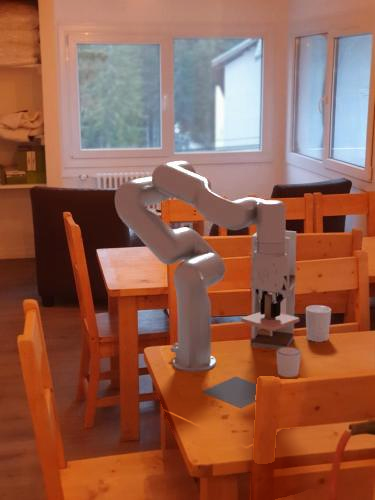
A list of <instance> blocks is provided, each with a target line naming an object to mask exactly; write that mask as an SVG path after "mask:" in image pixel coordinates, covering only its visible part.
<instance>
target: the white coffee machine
mask: <svg viewBox="0 0 375 500" xmlns="http://www.w3.org/2000/svg"><path fill="white" fill-rule="evenodd" d="M255 241H257V231H256V232H255V233H253V235H251V261H250V262H251V267H252V260H253V255H254V252H255V251H257V246H256V245H255ZM285 254H287V258H288V265H289V289H290V292H291V295H290V296H288V297H285V298H284V299H283V301H282V302H281V311H280V313H283V314H287V315H290V316H294V317H295V302H296V301H295V299H296V295H295V293H296V266H297V265H296V261H297V258H296V257H297V231H293V230H286V237H285ZM250 292H251V315H252V314H255V313H258V312H260V300H259V298H258V294H257V293H256V290H254V289H253V288H252V287H251V286H250ZM269 293H270V292H269ZM282 293H283V290H282ZM277 296H278V294H277ZM294 330H295V323H294V324H291V325H288V326H286V327H283V328H280V329H277V330H274V331H269V330H266V329H263V328H260V327H257V326H253V325H251V337H250V347H256V348H257V347H258V348H265V349H274V350H277V349H278V348H281V347H290V346H291V344H292V342H293V340H294V338H295V337H294V335H295V334H294V333H295V331H294Z"/></svg>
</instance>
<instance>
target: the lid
mask: <svg viewBox="0 0 375 500" xmlns="http://www.w3.org/2000/svg"><path fill="white" fill-rule="evenodd" d="M271 303H273V299H272V293H266V294H265V314H263V315H262V314H260V312H258V313H255V314H252V313H251V314H249V315H247V316H244V317H243V316H242V317H241V318H240V322H241V323H244V324H247V325H250V326H252V325H253V326H257V327H260V328H263V329H266V330H269V331H274V330H277V329H280V328H283V327H286V326H288V325H291V324H294V325H295V324H296V323H299V322H300V317H297V316H295V315H294V316H290V315H287V314H283V313H280V316H277V317H274V318H272V317H271Z"/></svg>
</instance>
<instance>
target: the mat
mask: <svg viewBox="0 0 375 500" xmlns="http://www.w3.org/2000/svg"><path fill="white" fill-rule="evenodd" d="M256 384H257V383H255V382H253V381H250V380H247V379H244V378H242V377H239V376H233V377H231V378H229V379H226V380H223V381H222V382H219V383H217V384H215V385H212V386H210V387H208V388H206V389H204V390H200V393H202V394H204V395H208V396H210V397H212V398H215V399H218V400H220V401H223V402H225V403H227V404H230V405H232V406H235V407H237V408H240V409H242V408H244V407H246V406H248V405H250V404H252V403H255V402H256V401H255V395H256Z"/></svg>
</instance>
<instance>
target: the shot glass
mask: <svg viewBox="0 0 375 500" xmlns="http://www.w3.org/2000/svg"><path fill="white" fill-rule="evenodd" d="M275 350H276V351H275V352H276V367H277V374H278V375H279V376H280V377H285V378H293V377H297V376H298V375H299V373H300V363H301V357H302V356H301V355H302V351H301V349H299V348H298V347H297V348H296V347H293V346H289V347H281V348H278V349H275Z"/></svg>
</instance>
